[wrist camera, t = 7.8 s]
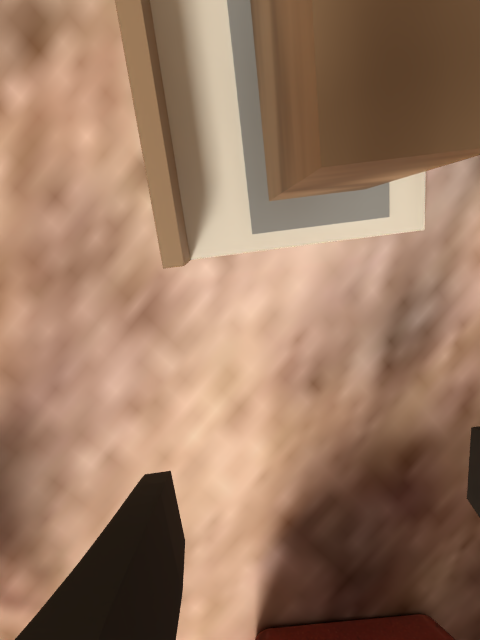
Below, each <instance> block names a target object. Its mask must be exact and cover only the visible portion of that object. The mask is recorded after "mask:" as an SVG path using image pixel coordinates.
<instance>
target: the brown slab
mask: <svg viewBox="0 0 480 640" xmlns="http://www.w3.org/2000/svg"><path fill="white" fill-rule="evenodd" d="M250 4H251V15H252V25H253V36H254V46H255V57H256V68H257V78H258V89H259V100H260V110H261V121H262V132H263V142H264V153H265V164H266V174H267V185H268V195H269V201H275V200H283V199H291V198H299V197H307V196H315V195H323V194H331V193H339V192H348V191H356V190H364V189H368V188H371V187H375V186H378V185H381V184H385V183H388V182H391V181H394V180H398V179H401V178H404V177H408V176H411V175H414V174H418V173H421V172H424V171H428V170H431V169H434V168H438V167H441V166H444V165H448V164H451V163H454V162H458V161H461V160H464V159H468V158H471V157H474V156H477V155H480V0H250Z"/></svg>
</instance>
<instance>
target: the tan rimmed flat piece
mask: <svg viewBox="0 0 480 640" xmlns="http://www.w3.org/2000/svg"><path fill="white" fill-rule="evenodd" d="M115 3H116V9H117V15H118V20H119V26H120V31H121V37H122V42H123V48H124V54H125V59H126V65H127V70H128V76H129V81H130V87H131V92H132V98H133V104H134V109H135V115H136V120H137V126H138V131H139V137H140V143H141V148H142V154H143V159H144V165H145V170H146V176H147V182H148V187H149V193H150V198H151V204H152V209H153V215H154V220H155V226H156V232H157V237H158V243H159V248H160V254H161V259H162V265H163V269H164V268H172V267H180V266H185V265H186V264H187V263H188V262H189V261H190V260H194V259H201V258H209V257H217V256H225V255H233V254H240V253H248V252H256V251H264V250H272V249H280V248H287V247H295V246H303V245H311V244H319V243H327V242H334V241H342V240H350V239H358V238H366V237H374V236H381V235H389V234H397V233H405V232H413V231H421V230H425V182H426V171H424V172H421V173H418V174H414V175H411V176H408V177H404V178H401V179H398V180H394V181H391V182H388V183H385V184H381V185H378V186H375V187H371V188H368V189H364V190H356V191H348V192H339V193H331V194H323V195H315V196H307V197H299V198H291V199H283V200H275V201H269V195H268V185H267V174H266V164H265V153H264V142H263V132H262V121H261V110H260V100H259V89H258V78H257V68H256V57H255V46H254V36H253V25H252V15H251V4H250V0H115Z"/></svg>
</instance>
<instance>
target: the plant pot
mask: <svg viewBox="0 0 480 640" xmlns="http://www.w3.org/2000/svg"><path fill="white" fill-rule="evenodd" d="M255 640H455V639H454V638H453V637H452V636H451V635H450V634H449V633H448V632H446V631H445V630H444V629H443V628H442V627H441V626H440V625H439V624H438V623H437V622H435V621H434V620H433V619H432V618H431V617H430V616H427V615H422V614H417V615H407V616H396V617H385V618H374V619H363V620H353V621H342V622H332V623H322V624H312V625H301V626H291V627H280V628H270V629H265V630H264V631H262V632H260V633H259V634H258V635H257V637H256V639H255Z"/></svg>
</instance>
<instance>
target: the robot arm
mask: <svg viewBox="0 0 480 640" xmlns="http://www.w3.org/2000/svg"><path fill="white" fill-rule="evenodd" d="M467 499H468V501H469V502H470V504H471V505H472V507H473V508H474V510H475V511H476V513H477V514H478V516H479V517H480V426H479V427H472V428H471V442H470V458H469V474H468V490H467ZM184 553H185V538H184V533H183V528H182V524H181V519H180V514H179V509H178V504H177V499H176V494H175V490H174V485H173V480H172V475H171V471H166V472H159V473H152V474H145V475H144V476H143V477H142V479H141V480H140V481H139V483H138V484H137V485H136V487H135V488H134V489H133V491H132V492H131V493H130V495H129V496H128V498H127V499H126V500H125V502H124V503H123V505H122V506H121V507H120V509H119V510H118V511H117V513H116V514H115V515H114V517H113V518H112V520H111V521H110V522H109V524H108V525H107V526H106V528H105V529H104V530H103V532H102V533H101V534H100V536H99V537H98V538H97V540H96V541H95V542H94V543H93V545H92V546H91V547H90V549H89V550H88V551H87V553H86V554H85V555H84V557H83V558H82V559H81V561H80V562H79V563H78V564H77V566H76V567H75V568H74V569H73V571H72V572H71V573H70V574H69V576H68V577H67V578H66V579H65V580H64V582H63V583H62V584H61V585H60V587H59V588H58V589H57V590H56V591H55V593H54V594H53V595H52V596H51V597H50V599H49V600H48V601H47V602H46V604H45V605H44V606H43V607H42V608H41V610H40V611H39V612H38V613H37V615H36V616H35V617H34V618H33V619H32V620H31V622H30V623H29V624H28V625H27V626H26V627H25V628H24V630H23V631H22V632H21V633H20V634H19V635H18V637H17V638H16V639H15V640H176V634H177V627H178V620H179V613H180V606H181V599H182V591H183V573H184Z"/></svg>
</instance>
